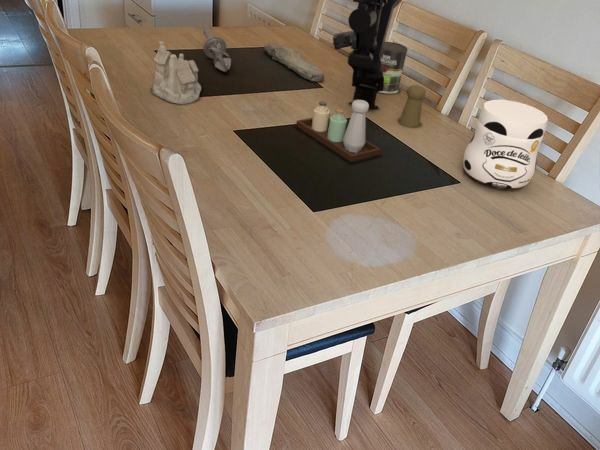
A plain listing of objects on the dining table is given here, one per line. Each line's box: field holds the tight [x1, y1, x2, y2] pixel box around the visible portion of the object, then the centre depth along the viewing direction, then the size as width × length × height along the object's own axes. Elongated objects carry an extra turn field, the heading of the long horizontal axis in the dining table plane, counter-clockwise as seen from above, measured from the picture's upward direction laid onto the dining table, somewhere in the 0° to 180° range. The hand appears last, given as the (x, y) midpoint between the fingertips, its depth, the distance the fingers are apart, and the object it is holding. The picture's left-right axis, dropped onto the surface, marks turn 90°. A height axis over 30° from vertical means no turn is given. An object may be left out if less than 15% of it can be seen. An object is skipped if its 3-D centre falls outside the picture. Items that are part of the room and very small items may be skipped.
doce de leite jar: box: [462, 99, 549, 191], centre depth 146 cm, size 17×17×18 cm
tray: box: [295, 117, 382, 163], centre depth 158 cm, size 10×23×2 cm, turn 37°
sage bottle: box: [327, 108, 348, 142], centre depth 156 cm, size 4×4×8 cm
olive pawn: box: [399, 84, 426, 128], centre depth 173 cm, size 6×6×11 cm
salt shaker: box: [343, 100, 369, 153], centre depth 151 cm, size 6×6×13 cm
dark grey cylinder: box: [377, 41, 409, 95], centre depth 195 cm, size 10×10×14 cm
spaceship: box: [202, 25, 232, 73], centre depth 202 cm, size 8×35×8 cm
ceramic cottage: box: [151, 40, 202, 105], centre depth 172 cm, size 16×16×15 cm
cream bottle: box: [311, 101, 331, 132], centre depth 161 cm, size 4×4×7 cm
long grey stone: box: [263, 41, 325, 82], centre depth 207 cm, size 35×5×10 cm
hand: (357, 82), depth 164 cm, fingers open, 9 cm apart
